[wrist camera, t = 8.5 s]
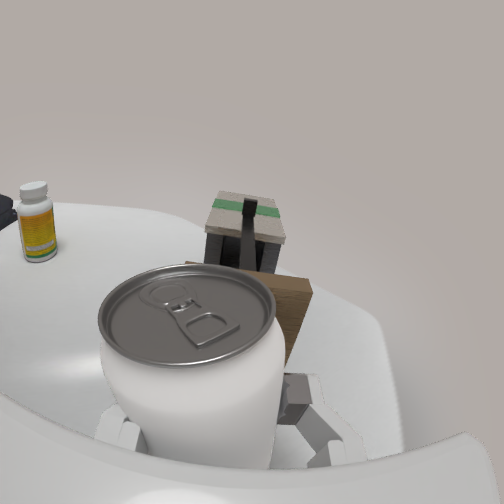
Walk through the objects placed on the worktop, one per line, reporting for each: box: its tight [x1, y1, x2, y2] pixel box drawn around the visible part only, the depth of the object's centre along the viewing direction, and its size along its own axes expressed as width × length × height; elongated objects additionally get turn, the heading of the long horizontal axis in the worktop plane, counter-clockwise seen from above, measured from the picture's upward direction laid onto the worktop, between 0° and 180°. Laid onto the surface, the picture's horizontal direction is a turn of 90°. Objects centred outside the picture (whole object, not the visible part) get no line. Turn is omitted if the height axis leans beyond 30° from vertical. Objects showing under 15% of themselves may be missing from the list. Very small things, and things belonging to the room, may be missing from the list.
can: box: [98, 264, 285, 469], centre depth 10 cm, size 6×6×12 cm
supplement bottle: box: [17, 181, 57, 262], centre depth 27 cm, size 5×5×10 cm
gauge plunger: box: [185, 198, 313, 368], centre depth 18 cm, size 10×6×10 cm, turn 1°
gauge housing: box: [204, 191, 286, 274], centre depth 27 cm, size 10×7×10 cm, turn 1°
